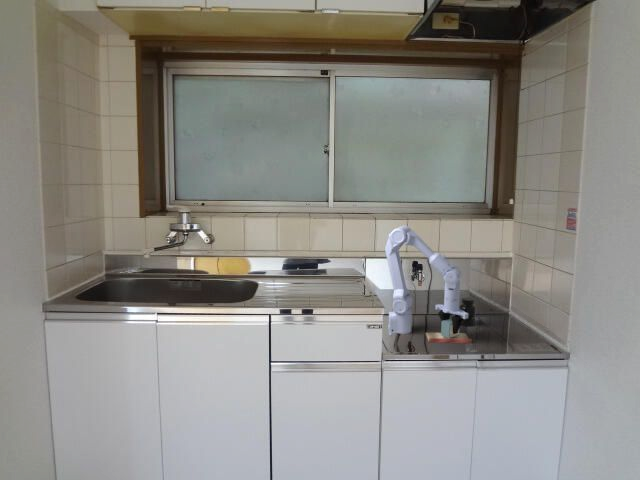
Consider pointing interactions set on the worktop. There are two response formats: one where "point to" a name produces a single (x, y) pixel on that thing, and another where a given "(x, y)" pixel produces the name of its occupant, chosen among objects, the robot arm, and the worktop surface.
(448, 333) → the tea box
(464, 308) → the supplement bottle
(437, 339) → the shelf board
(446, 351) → the worktop surface
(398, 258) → the robot arm
